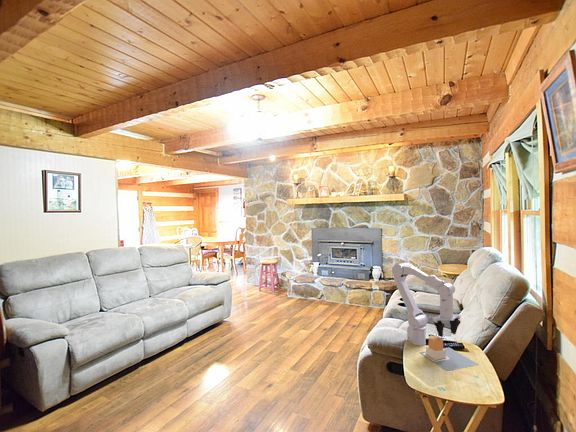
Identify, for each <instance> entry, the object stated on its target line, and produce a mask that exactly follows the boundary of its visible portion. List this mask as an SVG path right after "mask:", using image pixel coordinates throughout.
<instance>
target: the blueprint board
mask: <svg viewBox="0 0 576 432" xmlns="http://www.w3.org/2000/svg"><path fill="white" fill-rule="evenodd" d="M443 349H445V355H446V358H444V359H439V360H434V359H433V358H431V357H430V356H428V355H427V354H426V351H421V352H420V351H419V354H420V355H421V356H423V357H425V358H426V359H428V360H429V361H431V362H432V363H434V364H435V365H437V366H438V367H439V368H440V369H442V370H444V371H446V372H451V371H455V370H460V369H465V368H470V367H475V366H479V365H480V364H479V363H477V362H476V361H474V360H473V359H470V358H469V357H468V356H467V357H466V356H465V355H464V354H462V353H459V352H458V351H456V350H454V349H453V348H451V347H449V346H448V347H443Z"/></svg>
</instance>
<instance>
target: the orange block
mask: <svg viewBox="0 0 576 432" xmlns="http://www.w3.org/2000/svg"><path fill="white" fill-rule="evenodd" d="M428 346H429V347H430V348H431V349H433V350H434V351H439V350H443V348H444V339H443V338H442V337H440V336H439V335H438V336H437V335H433V336H432V335H431V336H428Z"/></svg>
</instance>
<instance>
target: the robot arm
mask: <svg viewBox="0 0 576 432" xmlns="http://www.w3.org/2000/svg"><path fill="white" fill-rule="evenodd" d="M391 272H392V274H393V281H394V283H395V286H396V289H397V291H398V292H399V294H400V296H401V299H402V301H403V303H404V305H405V307H406V310H407V314H406V318H407V320H408V321H407V322H408V327H407V329H406V337H407V338H406V340H408V341H409V342H410V343H411V344H413V345H414V346H420V347H422V346H423V347H424V346H426V344H427V343H426V341H427V340H426V339H427V338H426V337H427V336H426V329H427V328H426V327H427V325H428V323H429V319H428V316H427V315H426V314H425V313H424V312H423V310H422V309H421V308H419V307H418V305H417V303H416V301H415V299H414V296H413V294H412V292H411V290H410V287H409V286H408V283H407V281H406V279H407V277H408V275H412V276H414V277H416V278H418V279H420V280H422V281H424V283H425V285H427V286H428V287H430V288H431V289H434V290H435V291H437V293H438V295H439V314H438V315H437V316H434V317H432V323H433V324H434V326H435V328H436V331H437V334H438V337H440V338H443V336H444V328H445V323H443V322H446V321H449V325H450V333H451V334H452V335H456V334H457V330H458V328H459V325H460V324H461V322H462V321H461V315H460V314H458V313H455V314H454V293H455V292H456V288H455V286H454V284H452V283H451V282H449V281H446V282H445V280H443V279H442V280H441V279H440V278H438V277H437V276H436V275H435V274H429V275H428V274H426V273H425V272H423V271H422V270H421V269H419V268H418V267H415V266H414V265H413V264H412V263H410V262H407V261H404V262H401V263H396V264H394V265H393V266H392V269H391Z"/></svg>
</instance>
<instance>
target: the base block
mask: <svg viewBox="0 0 576 432" xmlns="http://www.w3.org/2000/svg"><path fill="white" fill-rule="evenodd" d="M425 346H426V347H425V349H426V350H425V352H426V354H427V355H428V356H430V357H431V358H433V359H434V360H439V359H444V358H446V355H445V349H443V350H439V351H434V350H433V349H431V348H430V347H429V345H425Z"/></svg>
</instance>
